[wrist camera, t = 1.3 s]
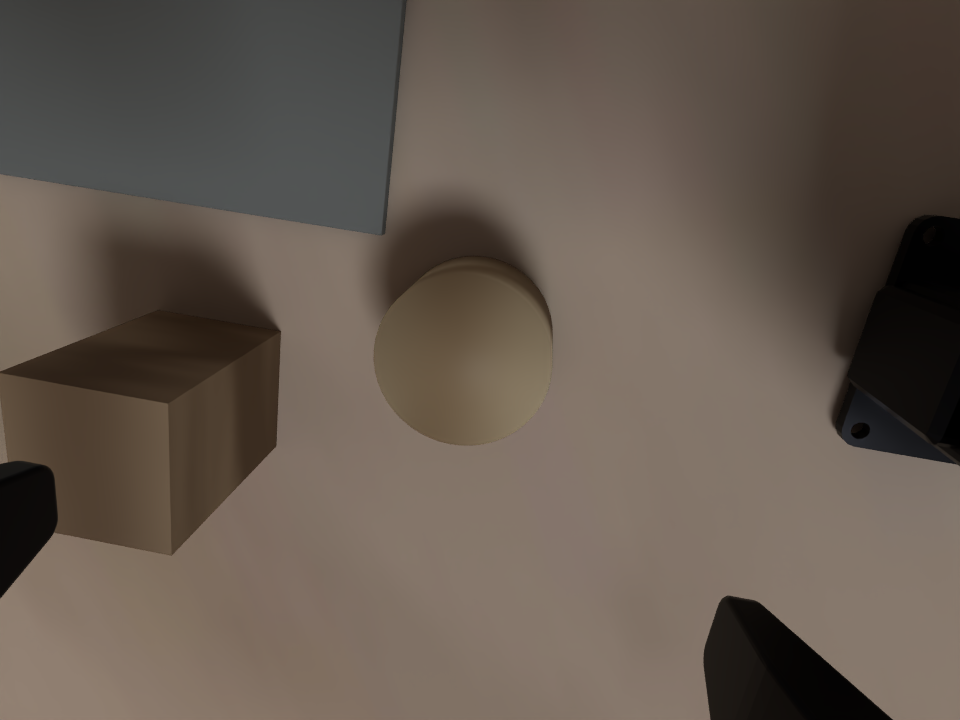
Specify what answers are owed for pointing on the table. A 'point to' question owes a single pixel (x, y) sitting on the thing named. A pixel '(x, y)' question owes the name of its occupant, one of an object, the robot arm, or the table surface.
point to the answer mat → (208, 102)
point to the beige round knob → (466, 351)
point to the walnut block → (146, 424)
